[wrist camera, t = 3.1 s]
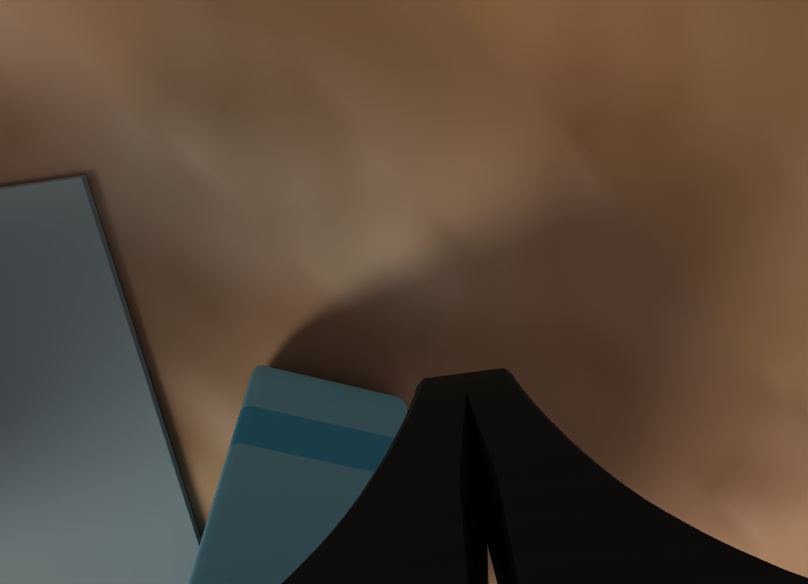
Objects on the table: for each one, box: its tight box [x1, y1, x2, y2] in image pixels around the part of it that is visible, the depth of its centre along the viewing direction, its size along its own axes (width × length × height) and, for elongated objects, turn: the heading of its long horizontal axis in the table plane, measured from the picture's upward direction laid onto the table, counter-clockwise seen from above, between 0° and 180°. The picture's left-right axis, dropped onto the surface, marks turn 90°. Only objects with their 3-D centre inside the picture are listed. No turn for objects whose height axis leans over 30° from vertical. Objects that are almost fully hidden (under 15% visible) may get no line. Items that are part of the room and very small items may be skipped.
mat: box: [0, 175, 201, 584], centre depth 25 cm, size 11×24×1 cm, turn 8°
